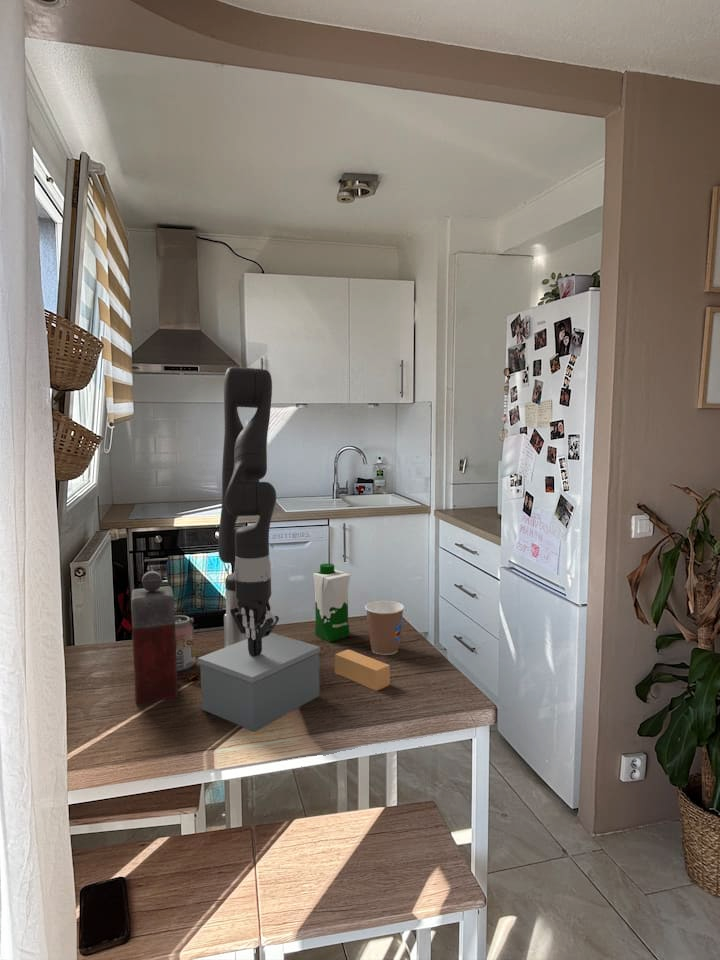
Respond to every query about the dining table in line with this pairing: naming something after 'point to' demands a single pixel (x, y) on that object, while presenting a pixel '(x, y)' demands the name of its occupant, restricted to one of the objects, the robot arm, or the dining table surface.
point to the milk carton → (331, 603)
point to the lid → (259, 657)
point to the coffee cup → (384, 626)
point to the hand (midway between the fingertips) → (255, 654)
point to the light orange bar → (362, 669)
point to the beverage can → (184, 642)
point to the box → (259, 693)
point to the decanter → (154, 640)
